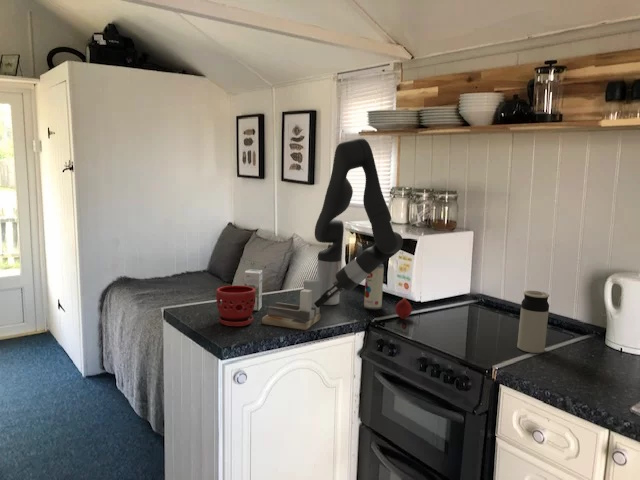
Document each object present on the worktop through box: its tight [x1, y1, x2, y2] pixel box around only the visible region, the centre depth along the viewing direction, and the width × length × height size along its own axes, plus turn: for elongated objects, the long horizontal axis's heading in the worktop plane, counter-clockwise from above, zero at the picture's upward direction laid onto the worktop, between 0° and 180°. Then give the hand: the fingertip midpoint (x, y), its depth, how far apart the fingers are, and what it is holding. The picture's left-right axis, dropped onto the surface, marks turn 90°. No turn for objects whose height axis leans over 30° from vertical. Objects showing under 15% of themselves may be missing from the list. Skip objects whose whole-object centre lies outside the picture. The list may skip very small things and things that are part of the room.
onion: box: [394, 297, 413, 320], centre depth 195 cm, size 6×6×8 cm
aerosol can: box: [363, 263, 385, 310], centre depth 209 cm, size 7×7×20 cm
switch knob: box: [299, 288, 315, 319], centre depth 185 cm, size 4×5×9 cm
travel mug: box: [516, 290, 550, 354], centre depth 167 cm, size 8×8×18 cm
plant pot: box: [215, 285, 256, 327], centre depth 182 cm, size 13×13×12 cm
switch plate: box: [261, 301, 321, 331], centre depth 187 cm, size 14×16×5 cm
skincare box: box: [303, 278, 321, 314], centre depth 199 cm, size 6×4×12 cm
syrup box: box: [243, 269, 263, 312], centre depth 200 cm, size 6×6×14 cm
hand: (316, 305), depth 184 cm, fingers closed
